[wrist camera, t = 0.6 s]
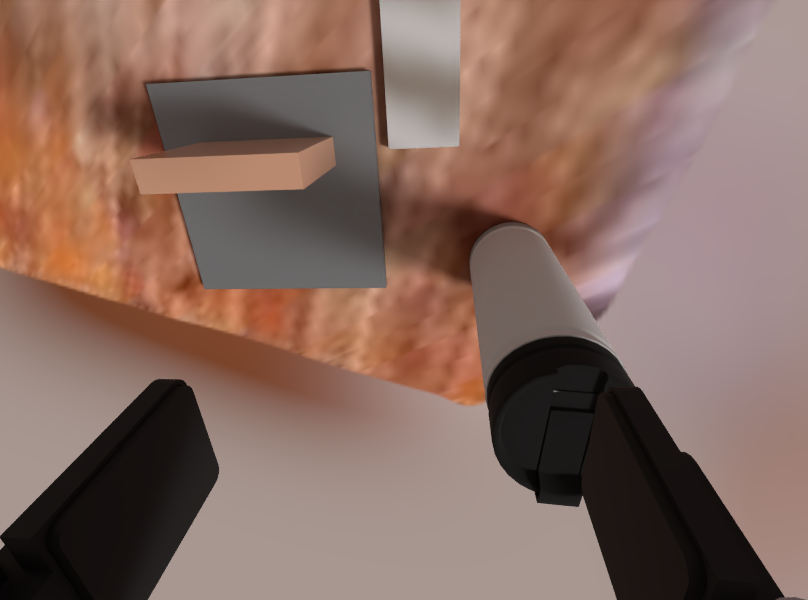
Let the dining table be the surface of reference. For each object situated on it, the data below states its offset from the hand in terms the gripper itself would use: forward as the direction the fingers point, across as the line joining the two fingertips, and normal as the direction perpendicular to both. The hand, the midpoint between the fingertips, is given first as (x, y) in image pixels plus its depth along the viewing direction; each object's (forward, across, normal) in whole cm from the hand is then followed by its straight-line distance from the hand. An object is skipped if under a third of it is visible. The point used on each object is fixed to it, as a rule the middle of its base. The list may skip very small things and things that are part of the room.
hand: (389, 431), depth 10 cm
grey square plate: (+25, +12, 0) cm, 28 cm away
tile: (+25, +12, -3) cm, 27 cm away
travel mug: (+25, -6, +6) cm, 27 cm away
